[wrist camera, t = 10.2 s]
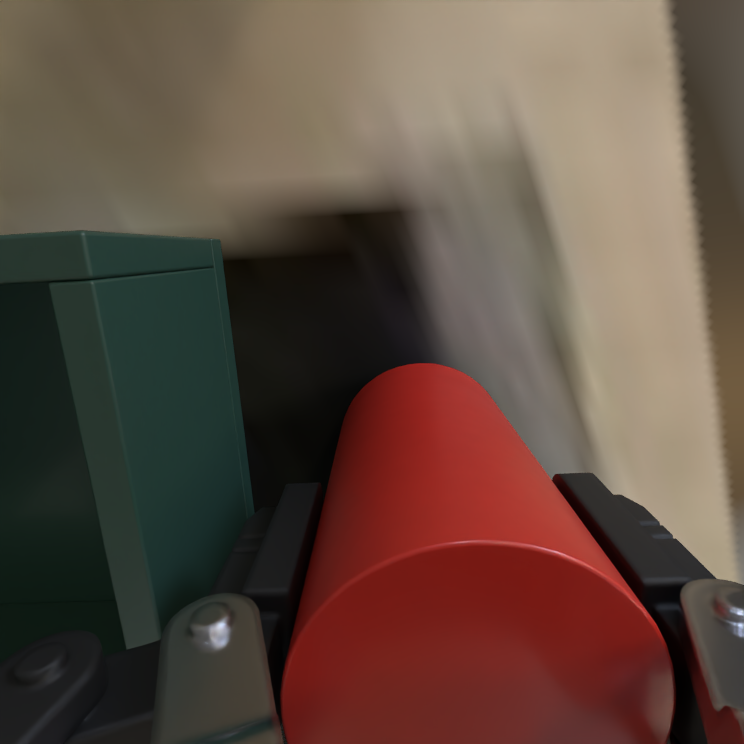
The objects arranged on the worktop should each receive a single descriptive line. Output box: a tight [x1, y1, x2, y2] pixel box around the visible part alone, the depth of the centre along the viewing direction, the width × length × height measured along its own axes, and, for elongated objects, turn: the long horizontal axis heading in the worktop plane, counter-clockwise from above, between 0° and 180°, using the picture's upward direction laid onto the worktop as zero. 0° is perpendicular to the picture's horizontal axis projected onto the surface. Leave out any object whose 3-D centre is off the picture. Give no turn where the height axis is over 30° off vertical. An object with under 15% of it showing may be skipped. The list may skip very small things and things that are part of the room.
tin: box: [280, 363, 676, 744], centre depth 10 cm, size 5×5×9 cm
